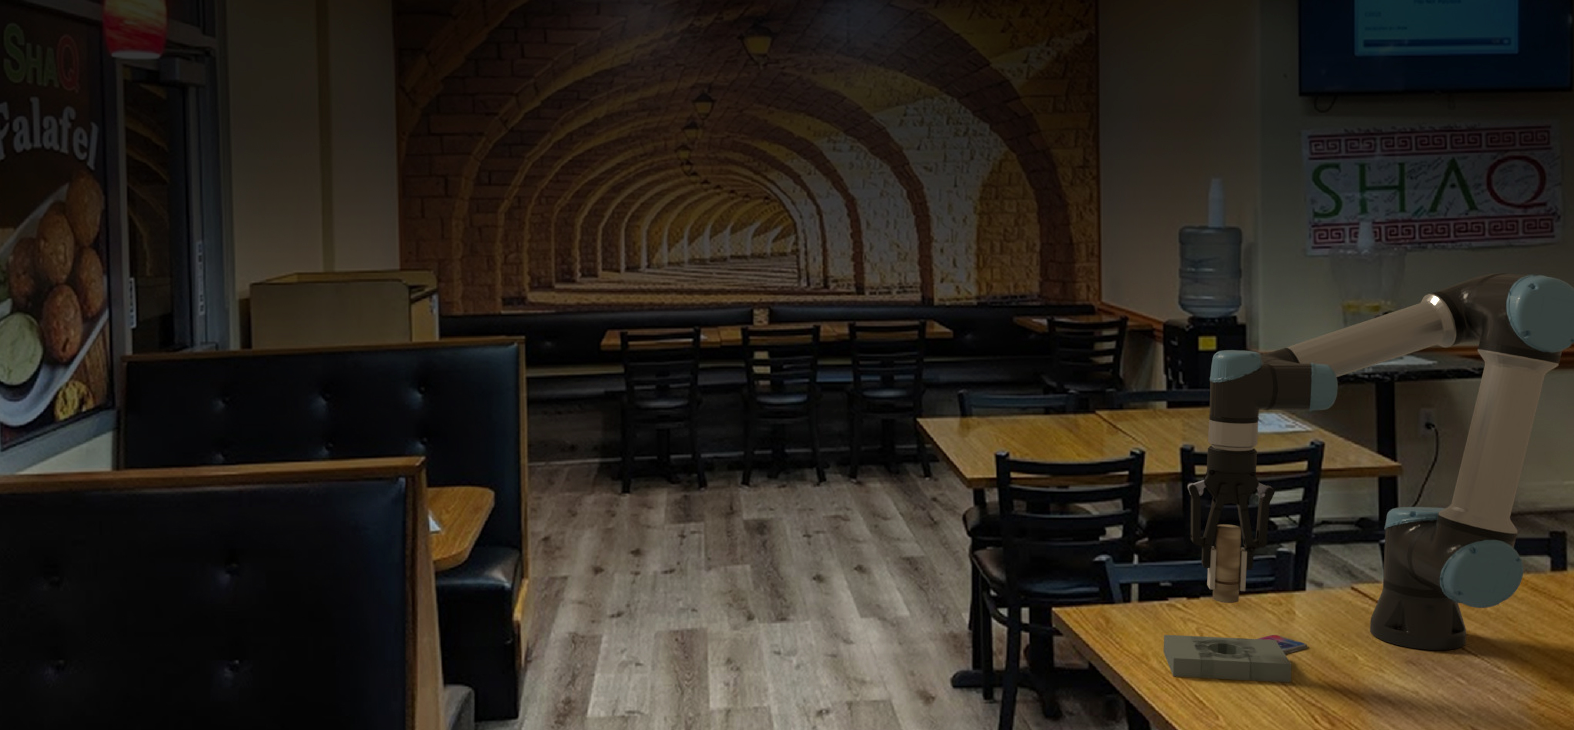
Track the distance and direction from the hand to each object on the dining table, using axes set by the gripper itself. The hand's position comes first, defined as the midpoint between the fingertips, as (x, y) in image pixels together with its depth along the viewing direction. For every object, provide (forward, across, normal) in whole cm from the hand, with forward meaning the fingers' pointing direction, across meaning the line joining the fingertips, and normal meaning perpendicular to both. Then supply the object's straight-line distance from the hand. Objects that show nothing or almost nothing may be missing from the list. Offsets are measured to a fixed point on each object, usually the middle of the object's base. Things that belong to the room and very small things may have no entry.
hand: (1226, 587), depth 207 cm
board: (+13, 0, 0) cm, 13 cm away
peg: (+2, 0, 0) cm, 2 cm away
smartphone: (+14, -8, -10) cm, 19 cm away
